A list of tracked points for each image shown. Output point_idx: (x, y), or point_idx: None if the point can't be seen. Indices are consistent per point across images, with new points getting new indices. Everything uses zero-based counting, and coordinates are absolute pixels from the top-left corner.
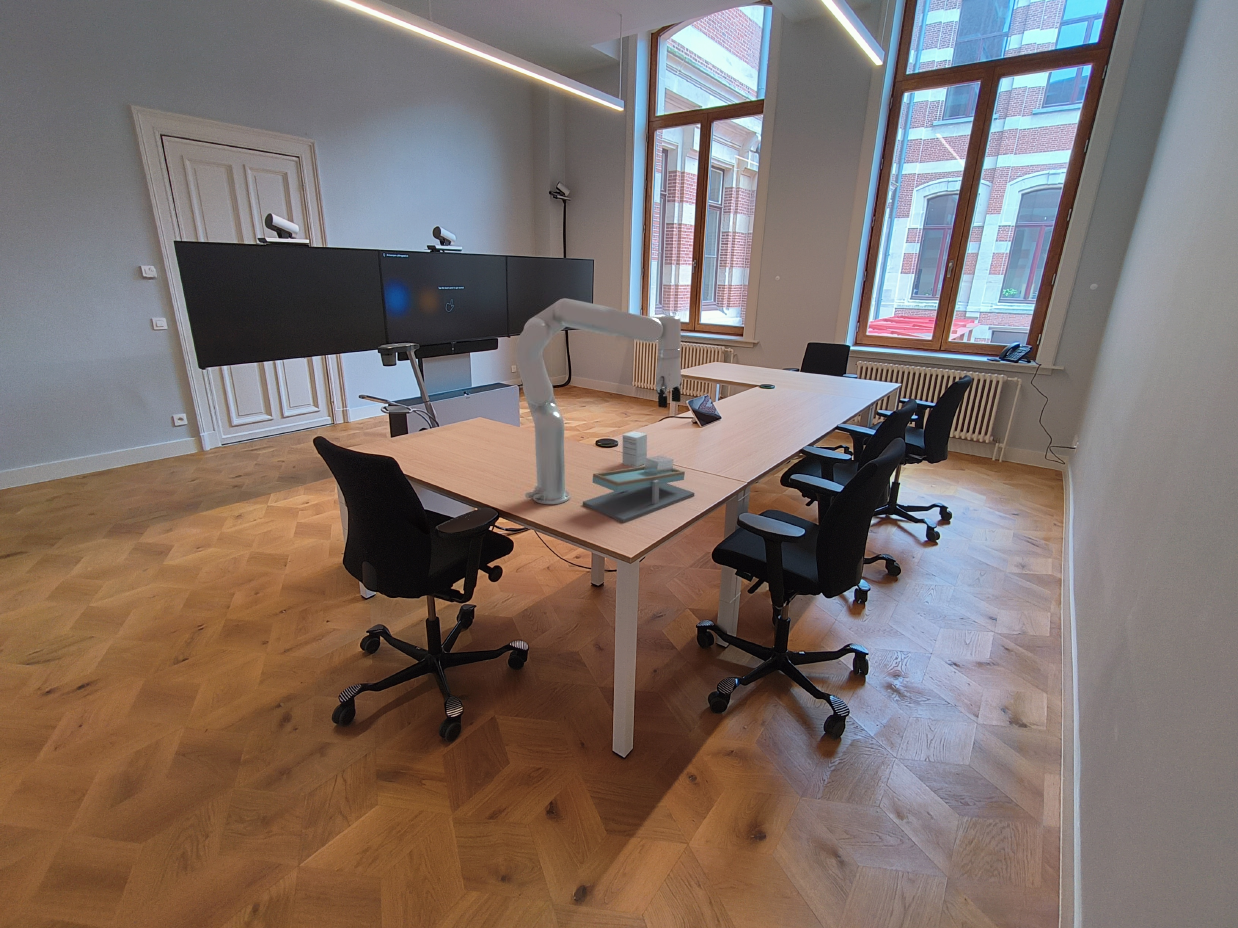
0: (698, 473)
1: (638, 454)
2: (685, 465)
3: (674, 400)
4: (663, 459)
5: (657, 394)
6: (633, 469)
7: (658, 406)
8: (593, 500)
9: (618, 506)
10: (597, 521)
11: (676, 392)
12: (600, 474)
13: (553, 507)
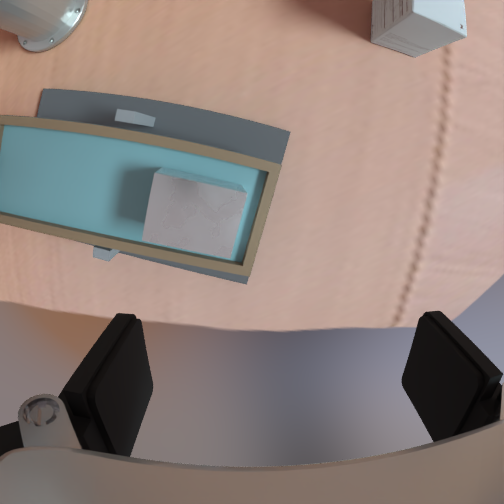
0: (410, 218)
1: (395, 34)
2: (449, 162)
3: (417, 346)
4: (193, 234)
5: (23, 405)
6: (134, 141)
7: (119, 313)
8: (58, 101)
9: None
10: None
11: (448, 419)
12: (9, 124)
13: (17, 58)
